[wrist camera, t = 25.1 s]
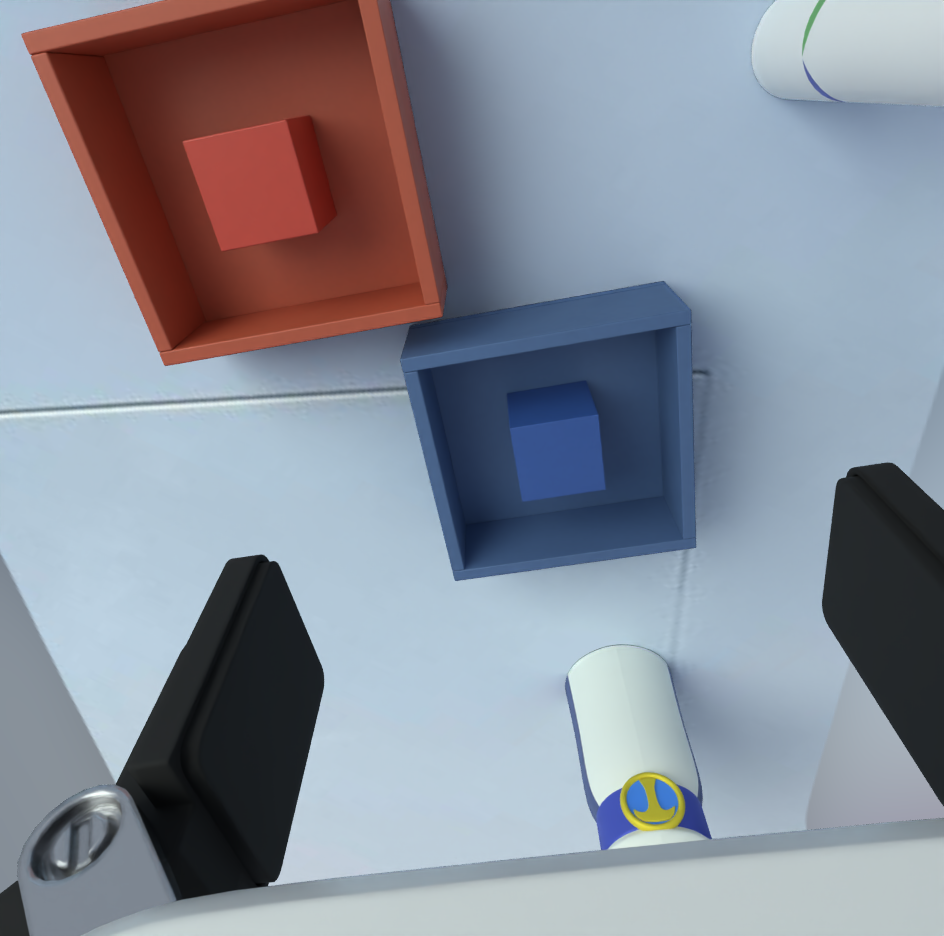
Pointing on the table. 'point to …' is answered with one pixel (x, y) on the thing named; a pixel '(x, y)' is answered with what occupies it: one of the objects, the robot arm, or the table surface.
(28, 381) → the table surface
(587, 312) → the blue bin
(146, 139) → the red bin
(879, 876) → the robot arm
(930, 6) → the tube
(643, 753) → the water bottle
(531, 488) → the blue block
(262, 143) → the red block
